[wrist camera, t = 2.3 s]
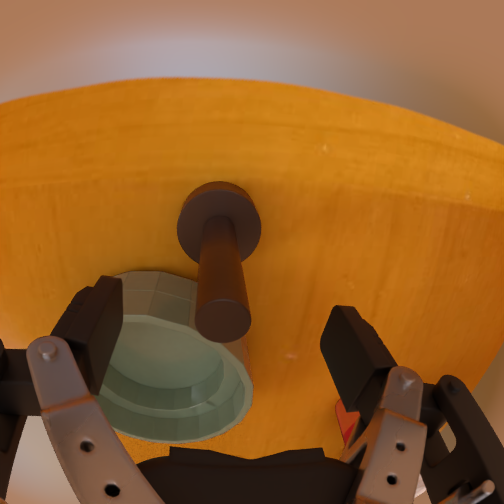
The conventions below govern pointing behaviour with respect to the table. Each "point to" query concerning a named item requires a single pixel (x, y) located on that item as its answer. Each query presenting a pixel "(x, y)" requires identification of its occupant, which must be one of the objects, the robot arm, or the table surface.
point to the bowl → (171, 367)
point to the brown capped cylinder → (220, 256)
